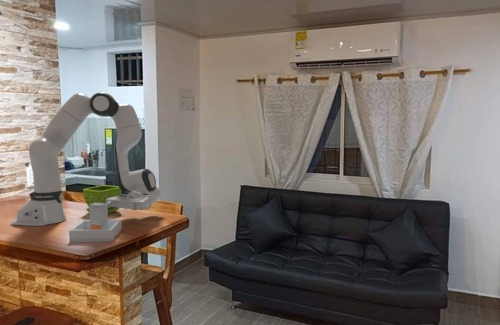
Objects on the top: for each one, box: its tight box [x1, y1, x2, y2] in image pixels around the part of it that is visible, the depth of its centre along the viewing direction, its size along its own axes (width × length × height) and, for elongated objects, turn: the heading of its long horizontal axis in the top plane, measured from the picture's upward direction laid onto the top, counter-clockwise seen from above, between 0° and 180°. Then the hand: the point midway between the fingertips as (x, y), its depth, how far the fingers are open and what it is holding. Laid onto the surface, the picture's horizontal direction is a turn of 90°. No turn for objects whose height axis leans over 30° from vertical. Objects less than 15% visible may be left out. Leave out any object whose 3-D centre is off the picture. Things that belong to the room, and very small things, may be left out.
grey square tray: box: [68, 219, 123, 243], centre depth 163 cm, size 16×16×4 cm
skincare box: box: [88, 203, 109, 230], centre depth 163 cm, size 6×4×12 cm
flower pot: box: [82, 184, 123, 214], centre depth 202 cm, size 14×14×13 cm
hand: (115, 206), depth 173 cm, fingers open, 8 cm apart
